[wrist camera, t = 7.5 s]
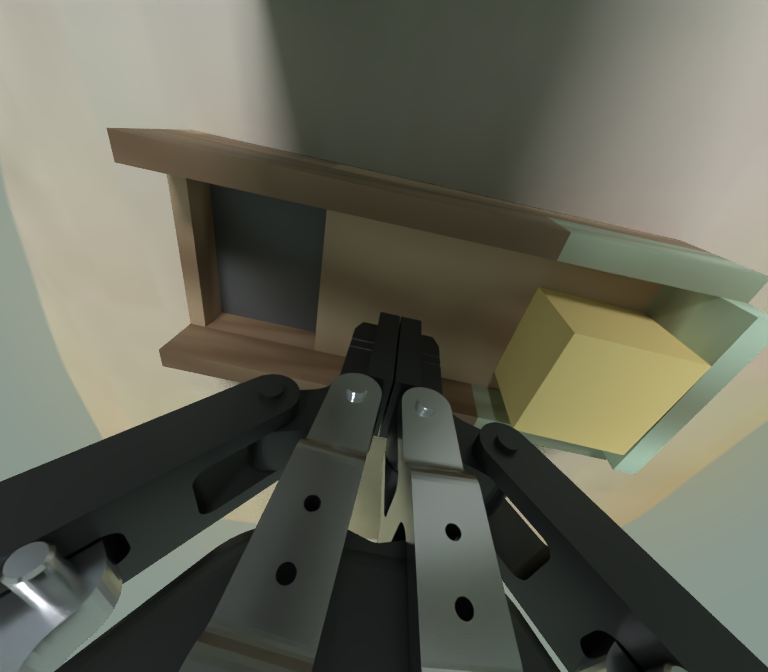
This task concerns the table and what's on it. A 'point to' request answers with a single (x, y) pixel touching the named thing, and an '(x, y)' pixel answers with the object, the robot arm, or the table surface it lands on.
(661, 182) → the table surface
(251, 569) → the robot arm
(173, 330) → the table surface
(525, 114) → the table surface
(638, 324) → the ochre block
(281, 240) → the channel
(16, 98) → the table surface
